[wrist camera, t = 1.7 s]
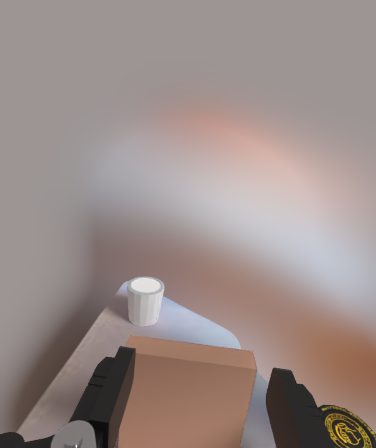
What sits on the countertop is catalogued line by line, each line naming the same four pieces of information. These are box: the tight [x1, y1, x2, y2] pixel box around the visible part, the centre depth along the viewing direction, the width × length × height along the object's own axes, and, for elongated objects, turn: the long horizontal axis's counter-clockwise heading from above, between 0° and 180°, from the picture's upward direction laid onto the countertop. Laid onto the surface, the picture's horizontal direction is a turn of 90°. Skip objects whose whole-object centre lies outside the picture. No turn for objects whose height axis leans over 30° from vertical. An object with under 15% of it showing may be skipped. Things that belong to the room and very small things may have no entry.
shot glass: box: [127, 277, 164, 327], centre depth 50 cm, size 7×7×7 cm
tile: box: [118, 335, 257, 448], centre depth 27 cm, size 2×12×14 cm, turn 87°
